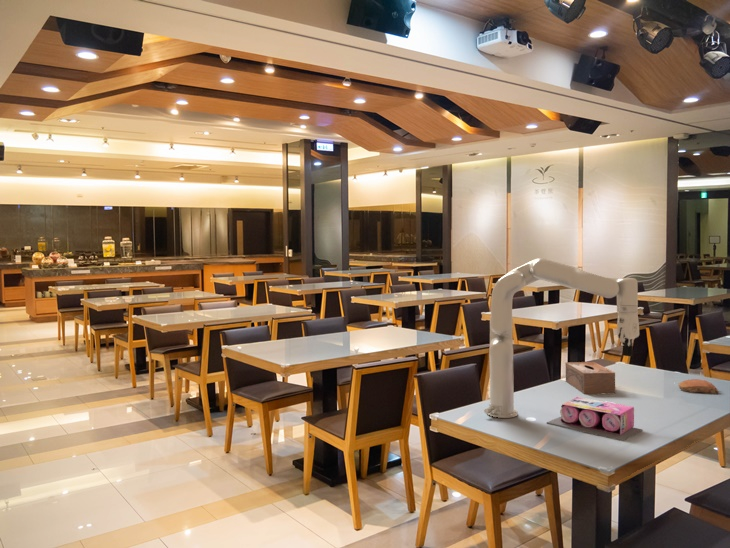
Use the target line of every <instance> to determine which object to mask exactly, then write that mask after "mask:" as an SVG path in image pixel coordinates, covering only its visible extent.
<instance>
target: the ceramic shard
mask: <svg viewBox="0 0 730 548" xmlns="http://www.w3.org/2000/svg"><path fill="white" fill-rule="evenodd" d="M678 388H679V389H680V391H682V392H687V393H691V394H692V393H693V394H695V393H705V394H716V395H717V394H718V393H719V390H718V388H717V387H716V386H715V385H714V384H713V383H711V382H709V381H707V380H704V379H699V378H698V379H697V378H693V379H686V380H683V381H681V382H679V383H678Z"/></svg>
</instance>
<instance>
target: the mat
mask: <svg viewBox="0 0 730 548" xmlns="http://www.w3.org/2000/svg"><path fill="white" fill-rule="evenodd" d="M561 418H562V417H561V416H559V417H556V418H554V419H551V420H549V421H546V424H547V425H552V426H556V427H560V428H561V427H562V428H564V429H569V430H573V431H576V432H577V431H578V432H582V433H586V434H591V435H595V436H599V437H603V438H609V439H614V440H617V441H623V442H624V441H625V440H628V439H629V438H631V437H634V436H635V435H637V434H638V433H641V432H643V429H642V428H638V427H632V428H631V429H629V430H627V431H626V432H624V433H623V434H621V435H617V434H613V433H608V432H604V431H599V430H594V429H589V428H583V427H578V426H572V425H568V424H564V423H561V420H560V419H561Z"/></svg>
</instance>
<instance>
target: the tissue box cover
mask: <svg viewBox="0 0 730 548" xmlns="http://www.w3.org/2000/svg"><path fill="white" fill-rule="evenodd" d="M565 383H568V384H569V385H570V386H571V387H573V388H574V389H576V390H578V391H579V392H580V393H582V394H583V395H602V394H601V393H614V394H616V372H614V371H612V370H611V369H609V368H607V367H605V366H603V365H601V364H599V363H597V362H595V361H581V362H580V361H578V362H577V361H576V362H575V361H574V362H573V361H572V362H571V361H570V362H565Z"/></svg>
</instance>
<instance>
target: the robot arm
mask: <svg viewBox="0 0 730 548" xmlns="http://www.w3.org/2000/svg"><path fill="white" fill-rule="evenodd" d="M539 280H541V281H543V282H548V283H551V284H554V285H559V286H563V287H565V288H568V289H572V290H577V291H581V292H586V293H589V294H592V295H596V296H599V297H602V298H606V299H613V298H614V297H616V313H617V323H616V335H617V338H618V339H619V341H620V343H621V345H622V355H623V356H624V357H632V356H634V355H633V353H634V351H633V350H634V349H633V348H634V347H633V346H634V340H635V339H637V338H639V336H640V323H639V316H638V314H639V309H638V308H639V307H638V306H639V300H638V299H639V298H638V293H639V292H638V291H639V290H638V289H639V288H638V287H639V286H638V280H637V279H636V278H635V277H634V278H633V277H621V278H615V277H614V278H611V277H605V276H601V275H598V274H594V273H590V272H588V271H585V270H582V269H580V268H577V267H575V266H571V265H568V264H565V263H561V262H557V261H553V260H551V259H547V258H543V257H537V258H534V259H532V260H531V261H529V262H527V263H525V264H522V265H520V266H518V267H516V268H514V269H512V270H509V271H507V273H506V274H505V275H503V276H502V277H500V278H498V280H497V281H496V282H495V284H494V286H493V288H492V291H491V304H490V318H489V351H488V353H489V354H488V357H489V358H488V359H489V401H490V402H489V404H488V405H489V407H487V408H485V409H483V412H484V413H485V414H486V415H487V414H488V416H489V415H490V416H489V417H492V416H493V418H496V417H498V418H499V419H511V418H515V417H517V416H518V414H519V413H518V410H516V409H515V405H514V403H515V401H514V398H515V397H514V396H515V395H514V394H515V393H514V345H513V344H514V343H513V333H514V332H513V331H514V330H513V326H514V319H513V297H514V296H515V294H516V293H517V292H520V291H522V290H523V289H524V288H525V287H526V286H528V285H530V284H532V283H535V282H537V281H539ZM498 418H497V419H498Z"/></svg>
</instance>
